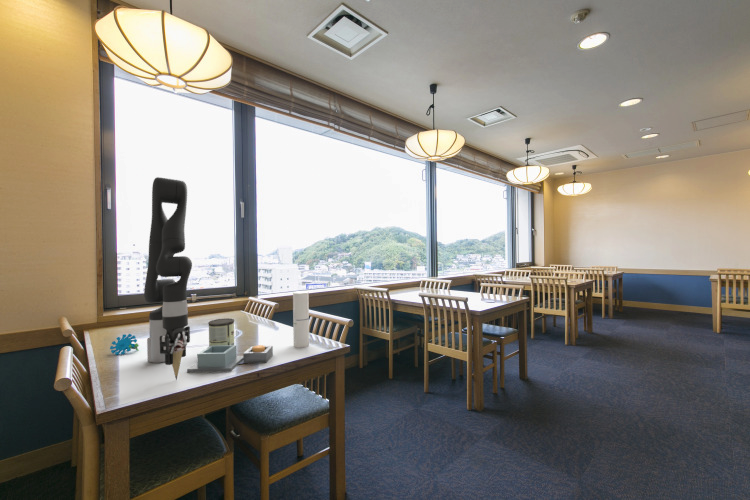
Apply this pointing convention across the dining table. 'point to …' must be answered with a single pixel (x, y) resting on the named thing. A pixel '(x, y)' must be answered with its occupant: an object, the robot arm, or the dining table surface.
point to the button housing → (258, 355)
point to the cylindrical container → (301, 319)
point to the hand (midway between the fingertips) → (176, 360)
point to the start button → (258, 348)
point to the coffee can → (221, 332)
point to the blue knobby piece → (124, 344)
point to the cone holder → (217, 359)
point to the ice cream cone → (177, 356)
